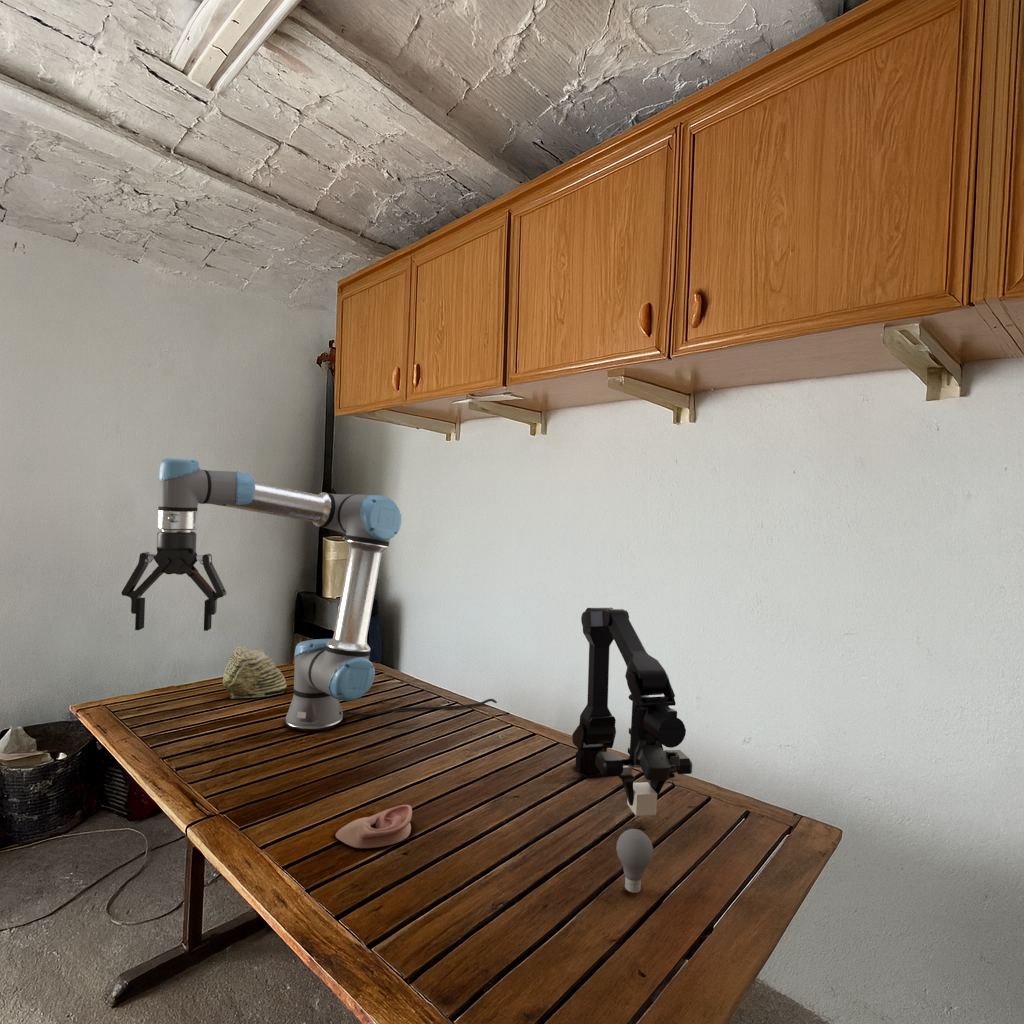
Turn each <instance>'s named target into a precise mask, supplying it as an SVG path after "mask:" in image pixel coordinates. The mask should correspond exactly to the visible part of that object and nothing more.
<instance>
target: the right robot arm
mask: <svg viewBox="0 0 1024 1024" xmlns="http://www.w3.org/2000/svg"><path fill="white" fill-rule="evenodd" d="M580 617H581V618H580V621H581V622H580V623H581V626H582V634H583V635H584V637H585V639H586V641H587V642H588V668H587V669H588V670H587V671H588V672H587V701H586V706H585V707H584V709H583V710H582V712H581V713H580V716H579V723H578V725H577V727H576V728H575V730H574V731H573V733H572V734H571V735H572V745H574V747H576V748H577V750H576V752H575V763H574V765H573V768H574V769H575V770H576V771H577V772H578V773H579V774H580V775H581V776H582V777H584V778H585V779H589V778H597V777H618V778H619V779H620V780H621V782H622V785H623V789H624V792H625V795H626V799H628V802H629V804H630V805H631V806H632V805H633V783H634V781H635V779H636V777H635V775H634V774H633V768H641V771H642V773H643V777H644V778H645V779H646V780H647V781H649V785H650V786H651V787H652V788H653V789H654V791H655V792H656V793H657V798H658V796H659V795H660V792H661V790H662V788H663V786H664V785H665V784H666V782H667V781H668V780H670V779H673V778H675V777H676V775H675V773H676V774H678V775H691V774H692V773H693V763H692V759H690V758H689V757H688V756H687V754H685V753H684V752H683V751H682V750H681V749H673V748H676V747H678V746H680V745H681V744H682V743H683V741H684V740H685V738H686V733H687V729H686V726H685V724H684V722H683V720H681V718H679V717H678V711H677V710H676V709H675V708H671V707H672V706H674V707H675V706H676V700H675V699H676V698H675V697H676V694H675V692H674V689H673V687H672V683H671V682H670V678H669V675H668V673H667V672H666V670H665V668H664V667H663V665H662V664H661V663H660V661H659V660H658V659H656V658H655V657H653V656H651V655H650V654H649V653H648V652H647V650H646V648H645V646H644V644H643V643H642V641H641V639H640V637H639V635H638V633H637V632H636V630H635V628H634V625H633V623H632V622H631V620H630V614H629V612H628V610H626V609H624V608H613V607H587V608H586V609H585V610H584V611H583V612H582V613H581V616H580ZM613 642H615V645H616V646H617V648H618V650H619V653H620V655H621V657H622V659H623V661H624V663H625V665H626V671H625V674H624V677H625V680H626V684H627V687H628V690H629V692H630V693H629V695H628V699H629V700H630V701H631V720H630V727H628V734H629V735H630V739H629V741H630V742H629V743H630V744H629V747H627V754H628V755H629V756H627V757H625V756H624V757H621V756H620V755H618V753H617V752H616V751H613V750H612V751H608V749H613V746H614V743H615V739H616V735H617V730H616V722H617V720H616V717H615V716H614V715H613V714H612V713H611V710H610V709H609V684H610V683H609V678H610V650H611V649H610V647H611V645H612V643H613ZM664 747H666V748H669V749H664Z"/></svg>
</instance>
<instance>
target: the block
mask: <svg viewBox="0 0 1024 1024" xmlns="http://www.w3.org/2000/svg"><path fill="white" fill-rule="evenodd" d="M626 799H627V798H626ZM626 804H627V806H628V807H629V809H630V810H631V811H632V813H633V815H634V816H636V817H645V816H657V807H658V797H657V793H656V792H655V791H654V789H653V788H652V787H651V786H650V782H647V781H646V782H633V805H632V806H631V805H630V804H629V802H628V799H627V800H626Z"/></svg>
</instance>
